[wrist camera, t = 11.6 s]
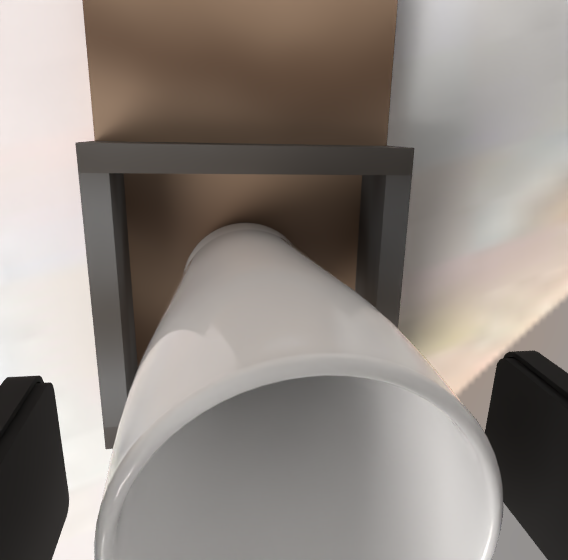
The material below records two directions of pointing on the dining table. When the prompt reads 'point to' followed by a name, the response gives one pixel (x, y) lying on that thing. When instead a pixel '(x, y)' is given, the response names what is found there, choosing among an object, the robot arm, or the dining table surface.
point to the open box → (234, 152)
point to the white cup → (290, 426)
